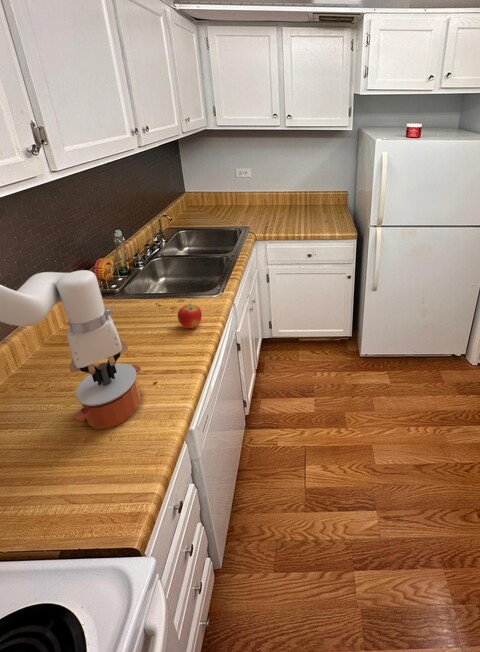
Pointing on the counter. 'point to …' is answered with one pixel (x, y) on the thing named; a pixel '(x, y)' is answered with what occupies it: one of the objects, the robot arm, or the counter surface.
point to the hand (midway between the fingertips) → (105, 378)
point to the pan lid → (106, 385)
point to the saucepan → (111, 409)
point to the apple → (189, 316)
